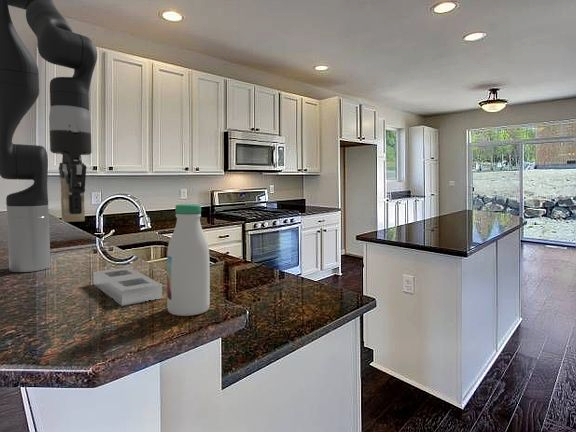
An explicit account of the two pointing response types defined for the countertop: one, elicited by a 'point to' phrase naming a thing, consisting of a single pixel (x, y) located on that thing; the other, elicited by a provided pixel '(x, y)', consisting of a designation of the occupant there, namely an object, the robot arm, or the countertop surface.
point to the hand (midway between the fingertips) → (73, 212)
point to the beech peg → (65, 205)
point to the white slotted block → (127, 286)
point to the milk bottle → (188, 264)
